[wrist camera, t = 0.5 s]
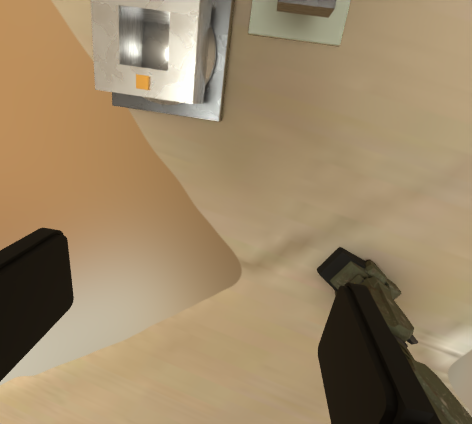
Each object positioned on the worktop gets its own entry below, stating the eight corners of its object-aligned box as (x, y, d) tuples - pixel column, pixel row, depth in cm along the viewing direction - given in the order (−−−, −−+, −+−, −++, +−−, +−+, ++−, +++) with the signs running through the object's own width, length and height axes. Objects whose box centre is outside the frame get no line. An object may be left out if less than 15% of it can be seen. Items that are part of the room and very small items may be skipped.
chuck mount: (118, -21, 30) (108, -29, 29) (235, -6, 30) (233, -14, 28) (120, 105, 35) (112, 105, 33) (221, 120, 35) (218, 121, 33)
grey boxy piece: (116, -17, 29) (77, -49, 23) (221, -4, 28) (209, -32, 22) (119, 97, 33) (86, 96, 27) (210, 111, 32) (198, 112, 26)
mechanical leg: (292, 265, 40) (453, 656, 14) (327, 229, 37) (603, 625, 11) (356, 299, 45) (564, 637, 19) (390, 269, 42) (686, 612, 16)
